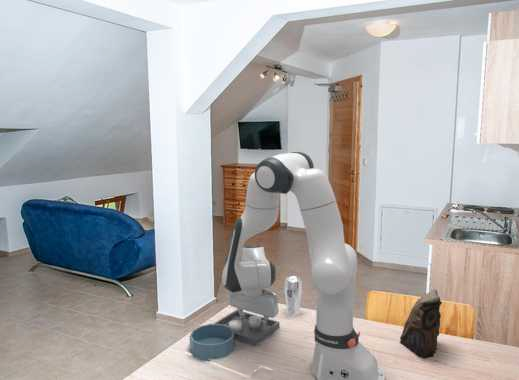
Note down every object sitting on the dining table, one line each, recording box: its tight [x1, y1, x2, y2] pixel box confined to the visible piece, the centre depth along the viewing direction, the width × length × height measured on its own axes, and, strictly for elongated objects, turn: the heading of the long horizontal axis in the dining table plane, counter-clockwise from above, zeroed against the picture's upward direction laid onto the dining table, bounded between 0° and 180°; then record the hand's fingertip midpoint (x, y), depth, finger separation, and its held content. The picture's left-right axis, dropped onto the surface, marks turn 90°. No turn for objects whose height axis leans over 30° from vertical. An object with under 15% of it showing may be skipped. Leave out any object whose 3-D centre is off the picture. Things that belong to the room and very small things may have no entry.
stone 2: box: [249, 315, 262, 330], centre depth 160 cm, size 5×5×3 cm
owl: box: [399, 288, 443, 360], centre depth 143 cm, size 13×13×20 cm
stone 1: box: [229, 320, 242, 333], centre depth 156 cm, size 5×5×3 cm
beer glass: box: [284, 275, 303, 317], centre depth 171 cm, size 7×7×15 cm
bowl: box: [189, 323, 236, 362], centre depth 145 cm, size 15×15×6 cm
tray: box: [213, 309, 280, 347], centre depth 158 cm, size 20×16×3 cm
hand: (253, 322), depth 160 cm, fingers open, 8 cm apart
